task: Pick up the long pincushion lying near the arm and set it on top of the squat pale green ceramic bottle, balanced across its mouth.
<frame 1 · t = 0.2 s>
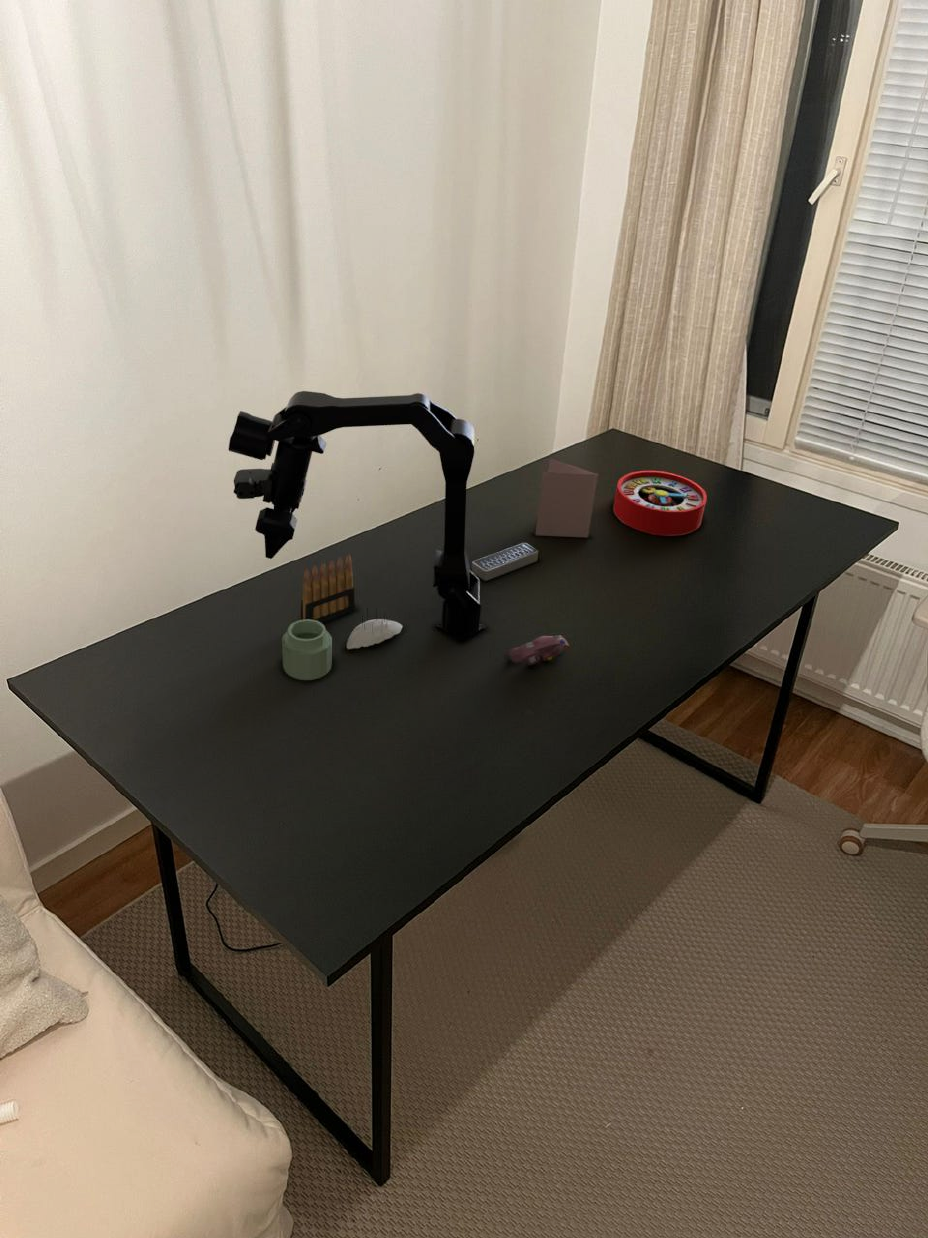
hand: (272, 544, 175), 15 cm above the table, tool pointing down, fingers open, 9 cm apart
multiport hub: (504, 566, 204), on the table
pincushion: (375, 639, 180), on the table
bottle: (307, 665, 172), on the table
ammunition clip: (328, 617, 184), on the table
toy clock: (657, 514, 227), on the table
greeting card: (558, 534, 216), on the table
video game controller: (537, 661, 178), on the table
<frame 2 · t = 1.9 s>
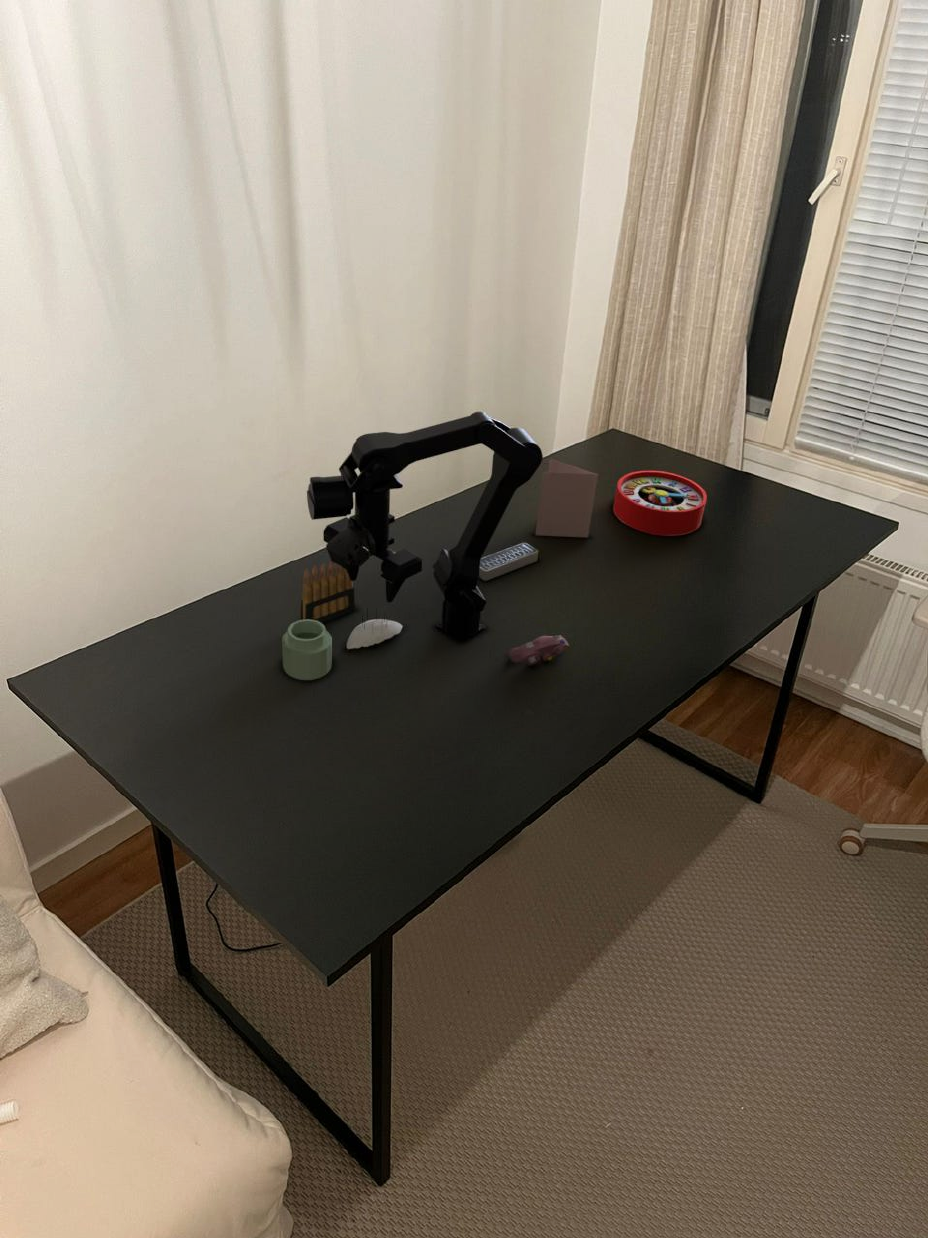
hand: (371, 590, 173), 11 cm above the table, tool pointing down, fingers open, 9 cm apart
nothing on the table moved.
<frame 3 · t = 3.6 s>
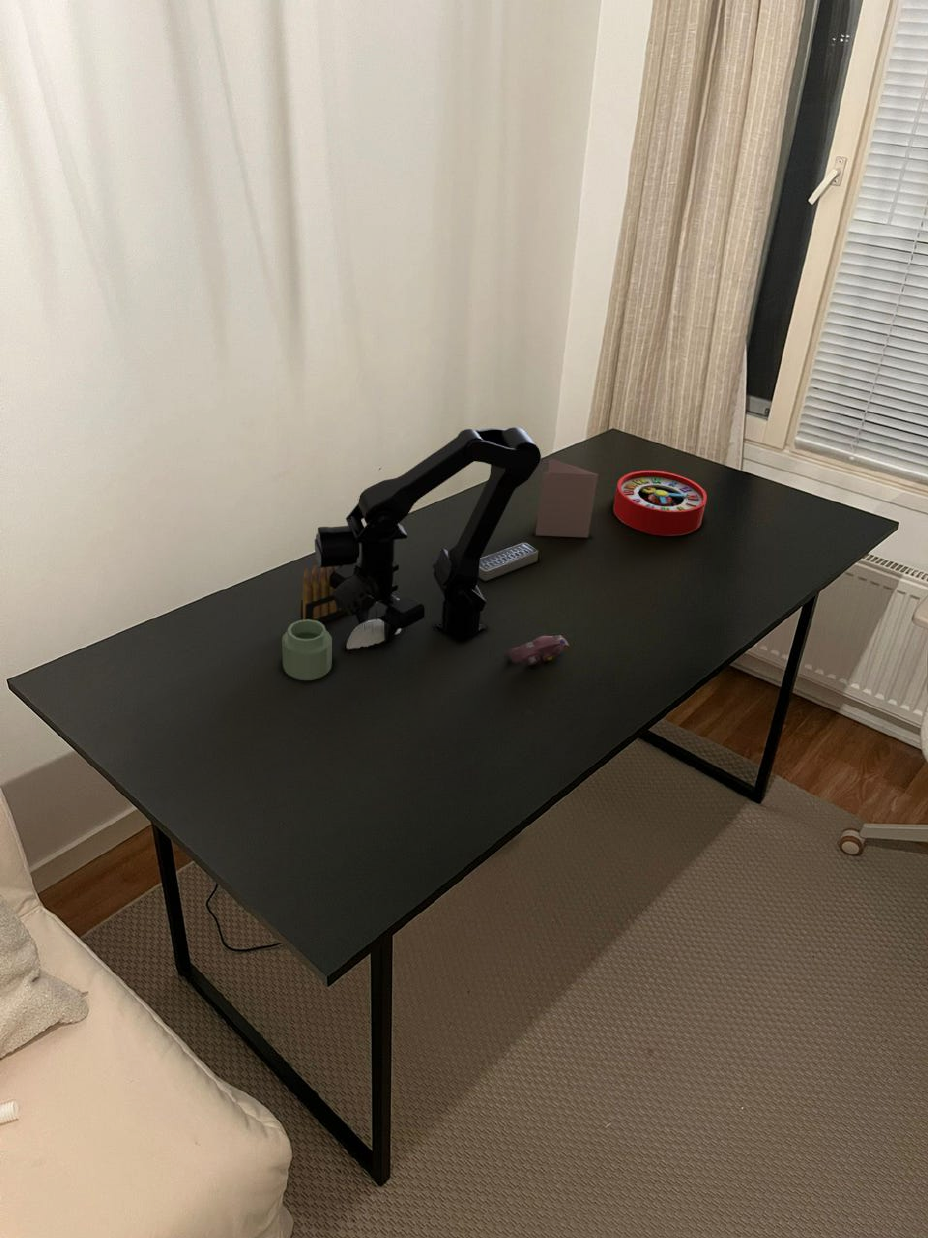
hand: (375, 634, 179), 1 cm above the table, tool pointing down, fingers closed on pincushion, 6 cm apart
pincushion: (375, 639, 180), on the table, touching gripper
everything else where it was.
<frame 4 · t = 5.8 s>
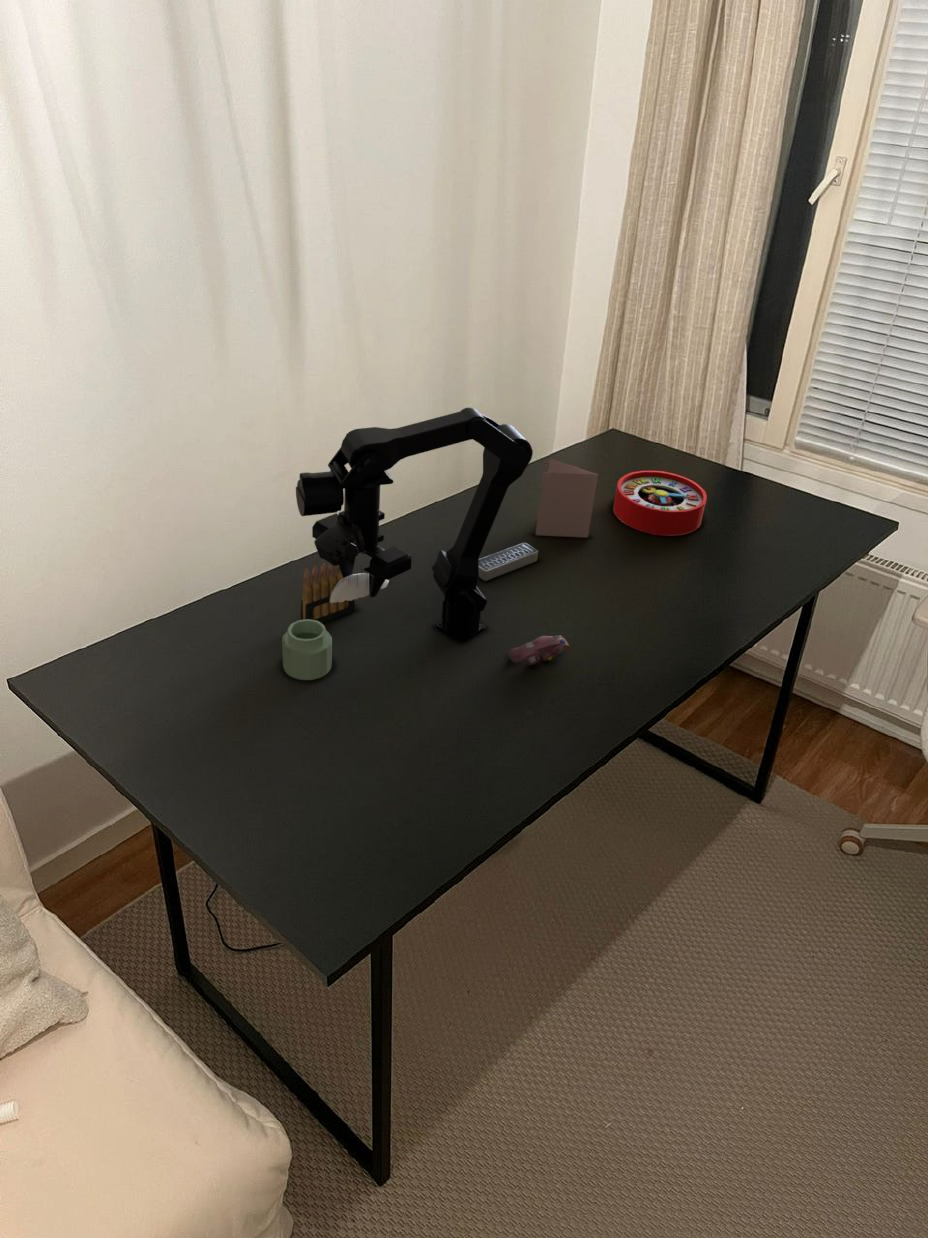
hand: (360, 588, 171), 12 cm above the table, tool pointing down, fingers closed on pincushion, 6 cm apart
pincushion: (360, 594, 172), point 11 cm above the table, touching gripper
everything else where it was.
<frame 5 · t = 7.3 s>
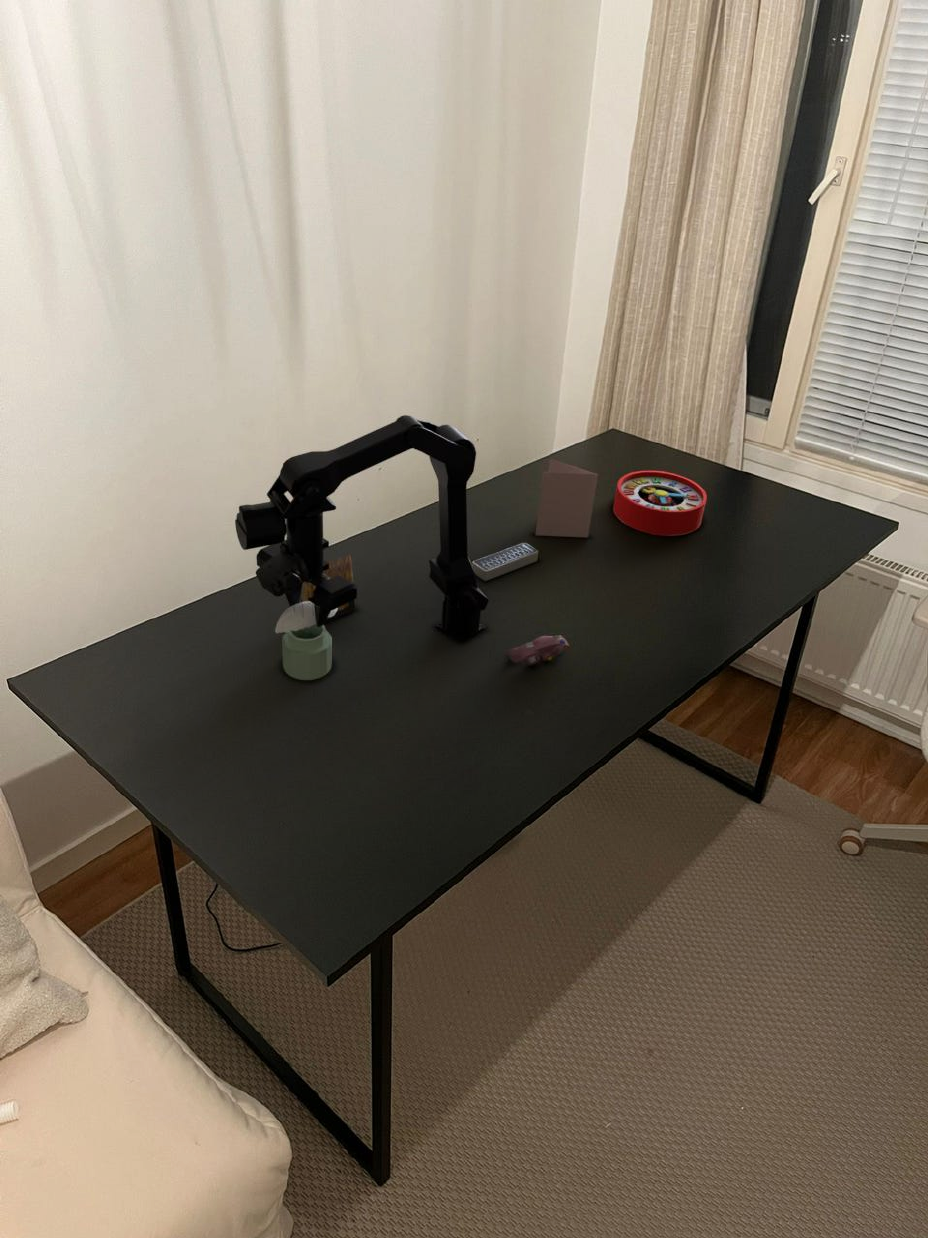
hand: (307, 617, 166), 10 cm above the table, tool pointing down, fingers closed on pincushion, 6 cm apart
pincushion: (307, 623, 167), point 9 cm above the table, touching gripper
everything else where it was.
when the fingers open (8 cm above the table, at t = 8.3 s): pincushion stays where it is, resting on bottle.
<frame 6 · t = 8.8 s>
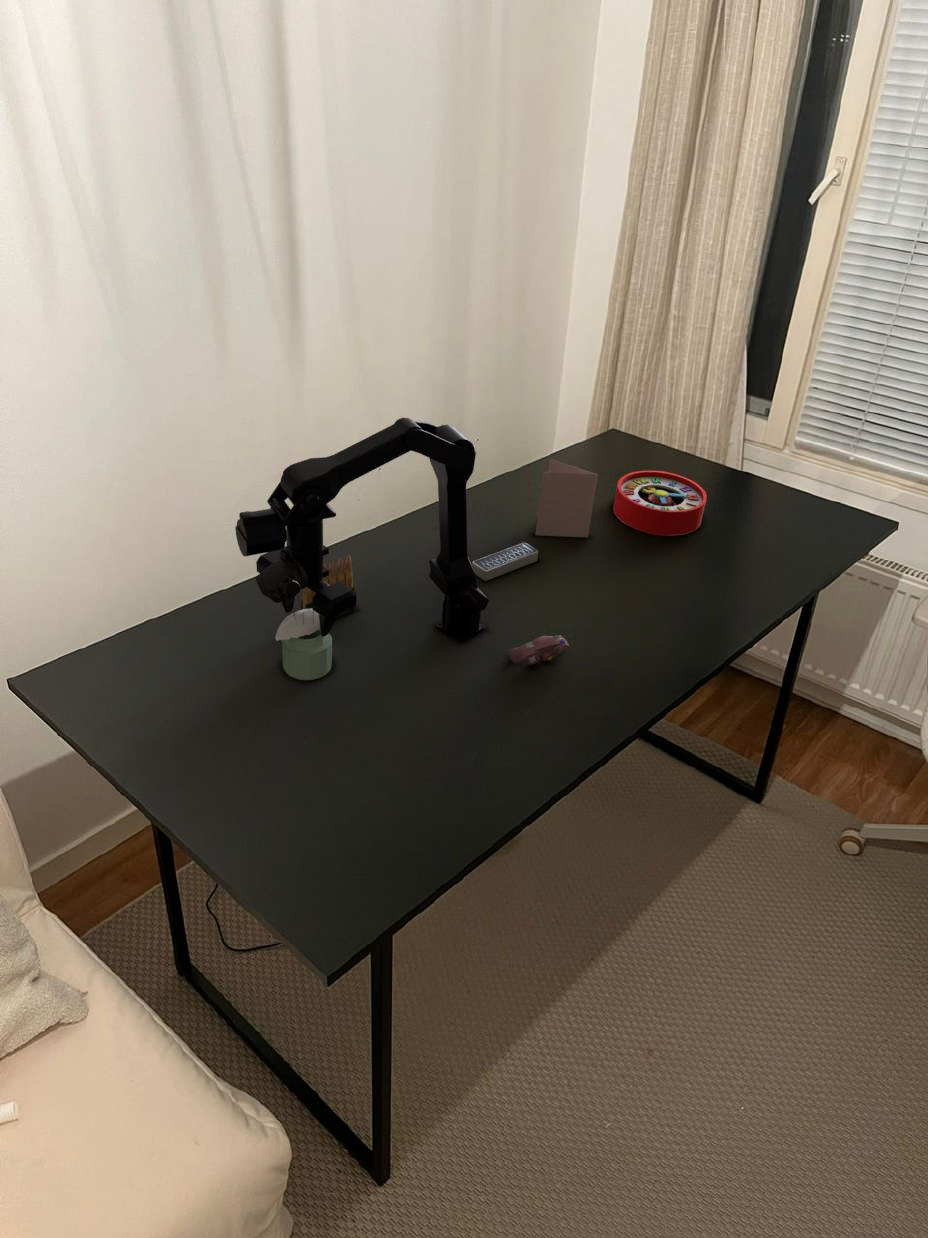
hand: (306, 623, 167), 9 cm above the table, tool pointing down, fingers open, 9 cm apart
pincushion: (307, 630, 168), point 7 cm above the table, touching bottle
everything else where it was.
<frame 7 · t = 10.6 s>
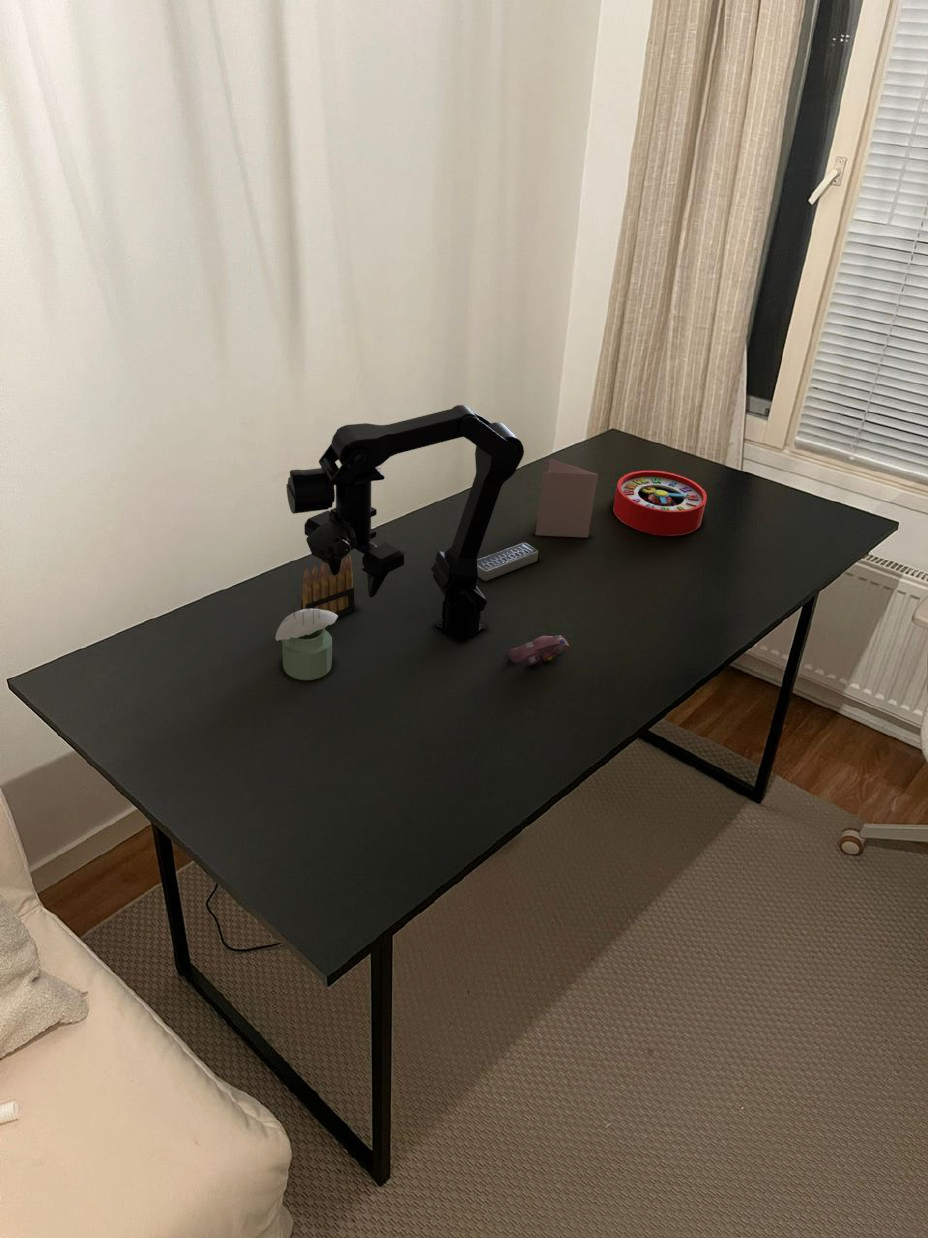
hand: (353, 585, 170), 13 cm above the table, tool pointing down, fingers open, 9 cm apart
nothing on the table moved.
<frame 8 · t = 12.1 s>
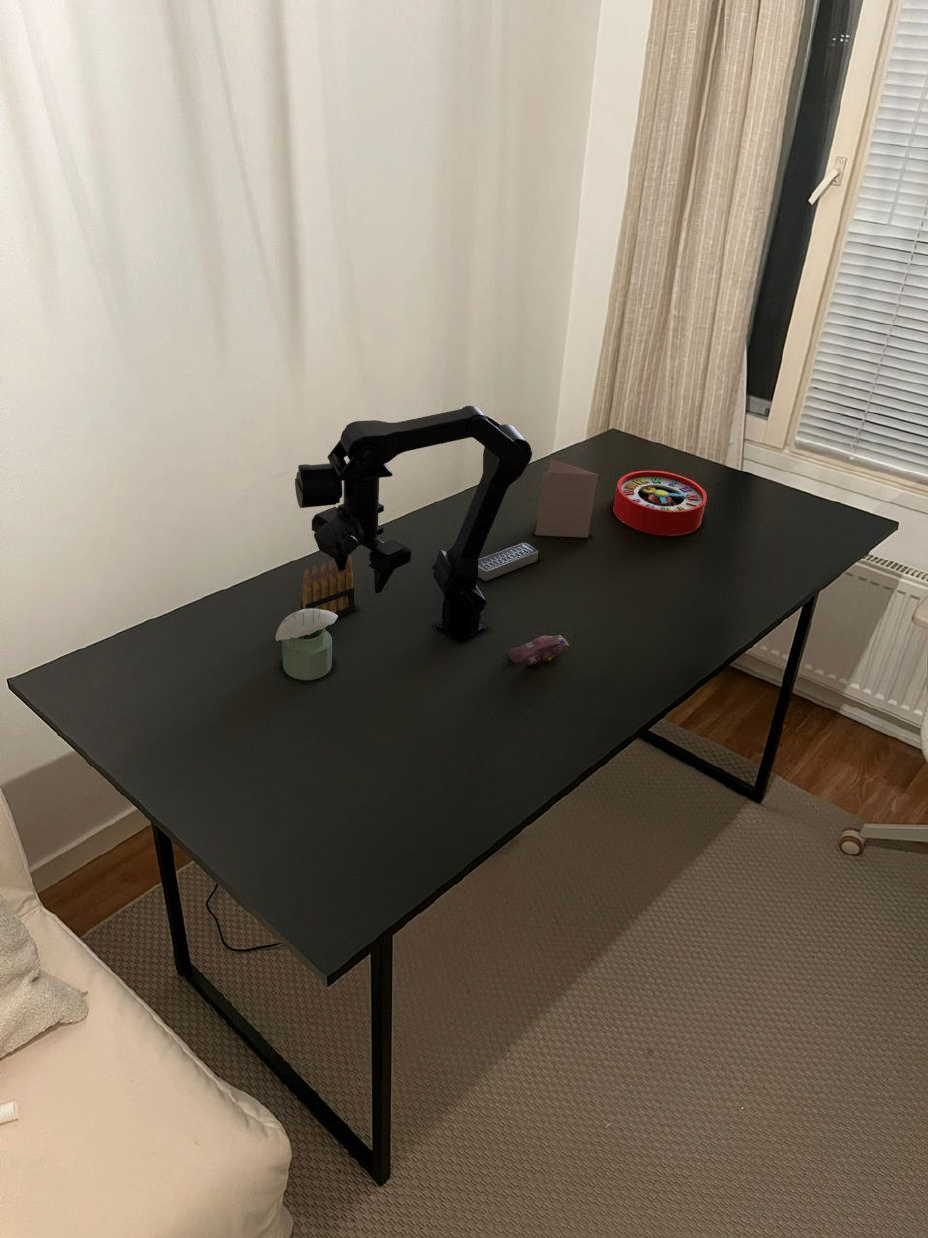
hand: (359, 581, 171), 13 cm above the table, tool pointing down, fingers open, 9 cm apart
nothing on the table moved.
at the end: pincushion 0.1 cm off-centre on the bottle, point 7.3 cm above the bottle's base; pincushion tilted 0°; the gripper is holding nothing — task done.
